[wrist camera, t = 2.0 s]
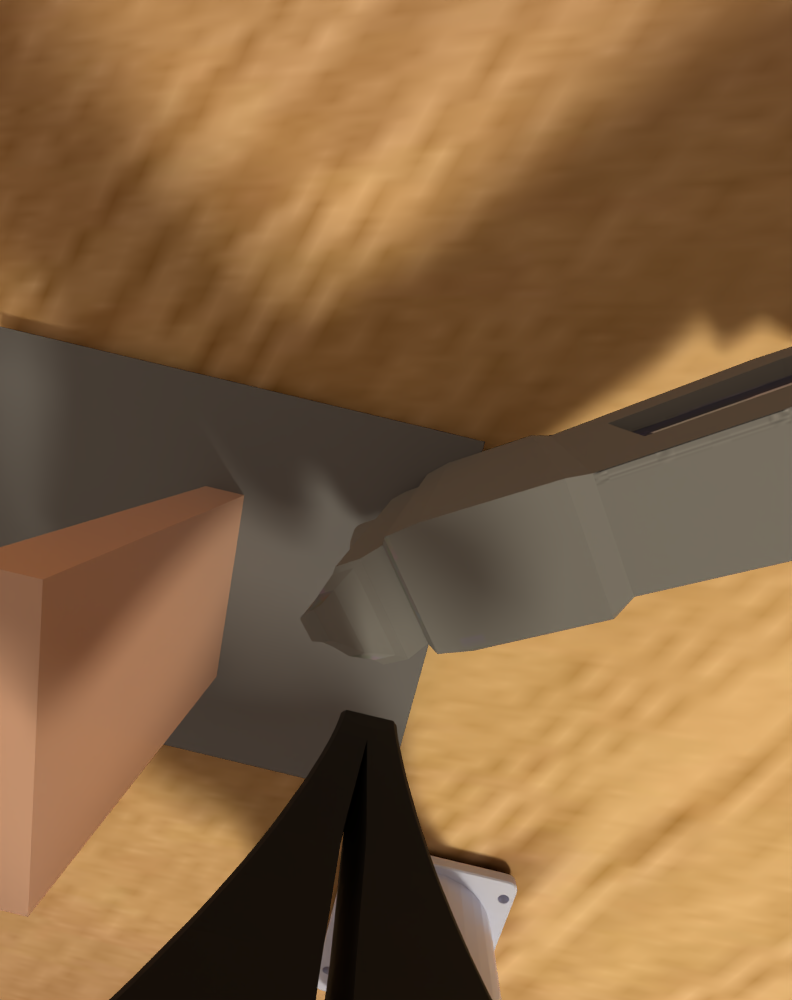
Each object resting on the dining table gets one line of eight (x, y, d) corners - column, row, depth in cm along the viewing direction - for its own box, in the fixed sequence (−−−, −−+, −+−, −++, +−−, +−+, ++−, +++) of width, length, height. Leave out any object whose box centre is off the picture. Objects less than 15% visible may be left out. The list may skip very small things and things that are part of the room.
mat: (387, 785, 17) (385, 797, 17) (5, 693, 18) (-10, 703, 17) (481, 441, 14) (484, 441, 14) (13, 329, 14) (-4, 325, 14)
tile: (216, 676, 16) (27, 917, 8) (175, 666, 16) (-53, 897, 8) (244, 495, 14) (42, 579, 7) (198, 484, 14) (-58, 555, 7)
